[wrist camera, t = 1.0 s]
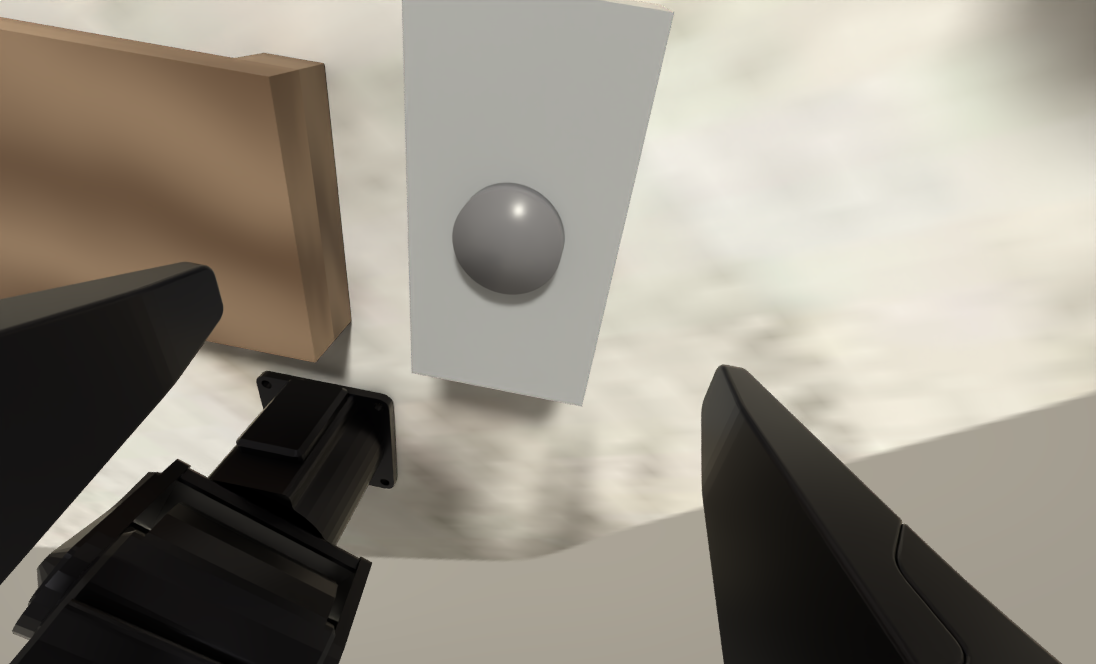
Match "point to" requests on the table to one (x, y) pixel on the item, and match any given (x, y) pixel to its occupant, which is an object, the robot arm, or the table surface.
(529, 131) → the block
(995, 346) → the table surface
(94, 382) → the robot arm
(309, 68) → the walnut stand
